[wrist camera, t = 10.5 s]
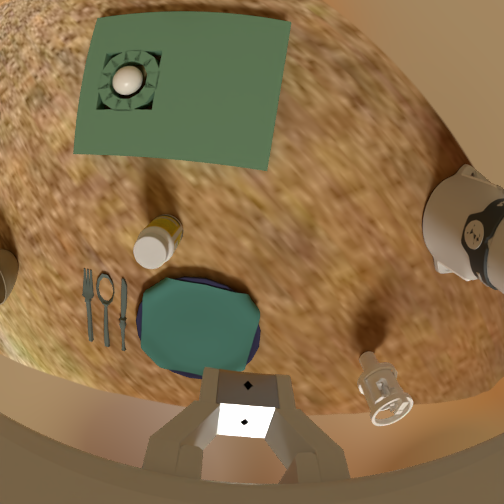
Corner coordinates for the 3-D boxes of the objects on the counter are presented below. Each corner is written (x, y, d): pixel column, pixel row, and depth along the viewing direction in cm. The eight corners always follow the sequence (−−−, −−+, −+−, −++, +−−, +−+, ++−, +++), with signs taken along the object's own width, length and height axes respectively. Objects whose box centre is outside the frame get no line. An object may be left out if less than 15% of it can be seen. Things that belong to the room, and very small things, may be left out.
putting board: (288, 28, 30) (291, 22, 28) (265, 169, 37) (267, 170, 35) (104, 23, 28) (97, 18, 26) (82, 152, 35) (73, 154, 33)
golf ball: (151, 66, 30) (126, 61, 27) (146, 95, 32) (121, 92, 28) (133, 70, 32) (109, 66, 29) (128, 97, 33) (104, 94, 30)
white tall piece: (389, 343, 48) (423, 400, 34) (374, 371, 51) (402, 428, 37) (357, 341, 48) (387, 404, 34) (343, 370, 50) (366, 433, 36)
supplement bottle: (146, 218, 39) (124, 237, 31) (178, 209, 39) (161, 227, 31) (157, 250, 41) (138, 275, 33) (187, 242, 40) (175, 267, 32)
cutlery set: (245, 380, 50) (245, 389, 48) (90, 343, 48) (85, 350, 45) (274, 286, 44) (275, 294, 41) (85, 245, 41) (78, 250, 39)
